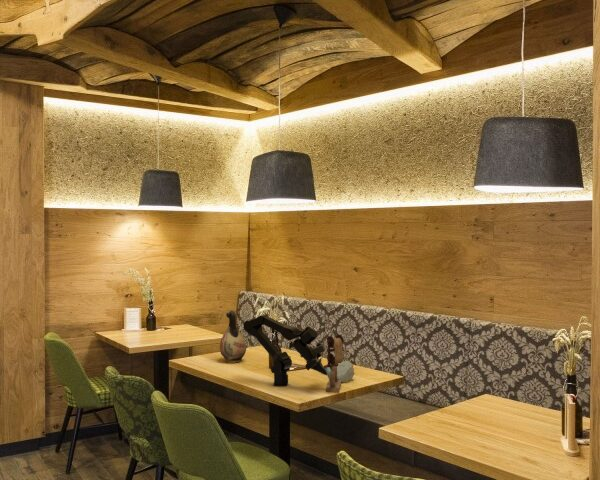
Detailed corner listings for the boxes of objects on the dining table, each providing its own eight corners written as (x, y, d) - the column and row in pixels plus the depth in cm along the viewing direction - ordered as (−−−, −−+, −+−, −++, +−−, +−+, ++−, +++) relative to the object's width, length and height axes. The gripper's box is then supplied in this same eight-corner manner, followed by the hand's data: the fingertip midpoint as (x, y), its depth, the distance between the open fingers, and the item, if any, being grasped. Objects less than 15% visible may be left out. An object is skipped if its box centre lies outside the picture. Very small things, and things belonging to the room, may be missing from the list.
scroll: (335, 377, 316) (335, 338, 315) (315, 372, 327) (315, 335, 326) (354, 373, 325) (354, 335, 325) (335, 368, 336) (335, 332, 336)
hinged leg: (330, 383, 291) (324, 369, 291) (330, 382, 293) (325, 368, 293) (334, 381, 290) (329, 367, 291) (335, 380, 293) (329, 366, 293)
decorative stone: (348, 376, 317) (337, 361, 316) (362, 372, 309) (350, 357, 308) (335, 393, 308) (323, 377, 307) (348, 389, 300) (336, 373, 299)
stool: (325, 392, 285) (325, 372, 285) (328, 385, 299) (328, 365, 299) (338, 393, 284) (338, 372, 284) (341, 385, 298) (341, 366, 298)
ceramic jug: (217, 359, 361) (217, 308, 360) (243, 357, 365) (243, 307, 365) (222, 365, 344) (222, 312, 344) (249, 363, 349) (249, 311, 349)
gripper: (312, 341, 283) (335, 366, 282) (318, 335, 302) (340, 358, 300) (295, 357, 285) (318, 382, 283) (302, 350, 303) (323, 373, 301)
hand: (326, 373), depth 292 cm, fingers closed, pressing on hinged leg
